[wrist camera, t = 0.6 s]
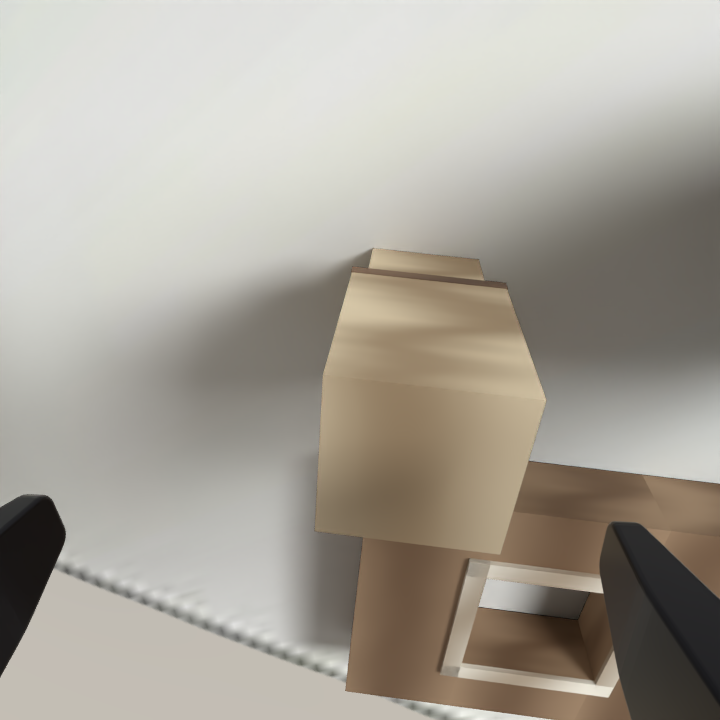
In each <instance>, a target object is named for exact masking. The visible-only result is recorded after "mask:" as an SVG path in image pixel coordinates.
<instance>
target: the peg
mask: <svg viewBox="0 0 720 720" xmlns="http://www.w3.org/2000/svg"><path fill="white" fill-rule="evenodd" d="M546 401H547V400H546V397H545V394H544V392H543V389H542V386H541V383H540V380H539V378H538V375H537V372H536V369H535V366H534V364H533V361H532V358H531V355H530V352H529V349H528V347H527V344H526V341H525V338H524V335H523V333H522V330H521V327H520V324H519V321H518V319H517V316H516V313H515V310H514V307H513V304H512V302H511V299H510V296H509V293H508V287H507V285H506V283H502V282H493V281H484V277H483V273H482V270H481V266H480V262H479V259H469V258H460V257H450V256H441V255H431V254H422V253H413V252H403V251H394V250H384V249H375V248H373V250H372V255H371V259H370V264H369V268H363V267H352V270H351V277H350V281H349V284H348V288H347V291H346V295H345V298H344V302H343V305H342V309H341V312H340V316H339V319H338V323H337V327H336V330H335V334H334V337H333V341H332V344H331V348H330V351H329V355H328V358H327V362H326V365H325V369H324V373H323V382H322V401H321V420H320V438H319V457H318V476H317V495H316V514H315V531H316V532H324V533H332V534H340V535H348V536H355V537H363V538H371V539H379V540H387V541H395V542H403V543H411V544H419V545H427V546H435V547H443V548H451V549H459V550H466V551H474V552H482V553H490V554H498V555H500V554H501V550H502V547H503V544H504V540H505V537H506V534H507V530H508V527H509V524H510V520H511V517H512V514H513V510H514V507H515V504H516V500H517V497H518V494H519V490H520V487H521V484H522V481H523V477H524V474H525V471H526V467H527V464H528V461H529V457H530V454H531V451H532V447H533V444H534V441H535V437H536V434H537V431H538V427H539V424H540V421H541V417H542V414H543V411H544V408H545V404H546Z"/></svg>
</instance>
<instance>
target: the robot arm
mask: <svg viewBox="0 0 720 720" xmlns="http://www.w3.org/2000/svg"><path fill="white" fill-rule="evenodd" d="M65 538H66V531H65V527H64V525H63V523H62V520H61V518H60V516H59V514H58V511H57V509H56V507H55V505H54V502H53V501H52V499H51V498H50V497H48V496H46V495H32V494H27V495H22V496H20V497H18V498H16V499H14V500H12V501H11V502H9V503H7V504H5V505H4V506H2V507H0V677H1V675H2V673H3V671H4V669H5V668H6V666H7V664H8V662H9V660H10V659H11V657H12V655H13V653H14V652H15V650H16V648H17V646H18V644H19V642H20V640H21V638H22V636H23V635H24V633H25V631H26V629H27V627H28V625H29V622H30V620H31V618H32V616H33V614H34V611H35V609H36V607H37V605H38V602H39V600H40V598H41V596H42V593H43V591H44V589H45V586H46V584H47V582H48V579H49V577H50V575H51V573H52V570H53V568H54V566H55V564H56V561H57V559H58V557H59V555H60V552H61V550H62V548H63V545H64V542H65ZM599 570H600V578H601V583H602V588H603V594H604V599H605V605H606V610H607V616H608V621H609V627H610V632H611V637H612V643H613V648H614V654H615V659H616V664H617V669H618V674H619V679H620V682H621V686H622V690H623V693H624V697H625V700H626V704H627V707H628V710H629V714H630V717H631V720H720V599H719V598H718V597H717V596H716V595H715V594H714V593H713V592H712V591H711V590H710V589H709V588H708V587H707V586H706V585H705V584H704V583H703V582H702V581H701V580H699V579H698V578H697V577H696V576H695V575H694V574H693V573H692V572H691V571H690V570H689V569H688V568H687V567H686V566H685V565H684V564H683V563H682V562H681V561H680V560H678V559H677V558H676V557H675V556H674V555H673V554H672V553H671V552H670V551H669V550H668V549H667V548H666V547H665V546H664V545H663V544H662V543H661V542H660V541H659V540H657V539H656V538H655V537H654V536H653V535H652V534H651V533H650V532H649V531H648V530H647V529H646V528H645V527H644V526H643V525H641V524H639V523H637V522H623V521H613V522H610V523H609V525H608V526H607V529H606V534H605V538H604V542H603V546H602V551H601V555H600V561H599Z"/></svg>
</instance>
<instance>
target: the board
mask: <svg viewBox="0 0 720 720" xmlns="http://www.w3.org/2000/svg"><path fill="white" fill-rule="evenodd" d="M613 521H623V522H637V523H639V524H641V525H643V526H644V527H645V528H646V529H647V530H648V531H649V532H650V533H651V534H652V535H653V536H654V537H655V538H656V539H657V540H659V541H660V542H661V543H662V544H663V545H664V546H665V547H666V548H667V549H668V550H669V551H670V552H671V553H672V554H673V555H674V556H675V557H676V558H677V559H678V560H680V561H681V562H682V563H683V564H684V565H685V566H686V567H687V568H688V569H689V570H690V571H691V572H692V573H693V574H694V575H695V576H696V577H697V578H698V579H699V580H701V581H702V582H703V583H704V584H705V585H706V586H707V587H708V588H709V589H710V590H711V591H712V592H713V593H714V594H715V595H716V596H717V597H718V598H719V599H720V484H714V483H706V482H698V481H689V480H681V479H673V478H664V477H656V476H648V475H639V474H631V473H622V472H614V471H606V470H597V469H589V468H581V467H572V466H564V465H556V464H547V463H539V462H530V461H528V464H527V467H526V471H525V474H524V477H523V481H522V484H521V487H520V490H519V494H518V497H517V500H516V504H515V507H514V510H513V514H512V517H511V520H510V524H509V527H508V530H507V534H506V537H505V540H504V544H503V547H502V550H501V554H500V555H498V554H490V553H482V552H474V551H466V550H459V549H451V548H443V547H435V546H427V545H419V544H411V543H403V542H395V541H387V540H379V539H371V538H363V541H362V550H361V558H360V567H359V576H358V584H357V593H356V601H355V610H354V618H353V627H352V636H351V645H350V654H349V663H348V672H347V681H346V690H345V691H348V692H356V693H363V694H370V695H378V696H385V697H392V698H400V699H407V700H414V701H421V702H429V703H436V704H443V705H451V706H458V707H465V708H473V709H480V710H487V711H494V712H502V713H509V714H516V715H524V716H531V717H538V718H546V719H553V720H631V717H630V714H629V710H628V707H627V704H626V700H625V697H624V693H623V690H622V686H621V682H620V679H619V674H618V669H617V664H616V659H615V654H614V648H613V643H612V637H611V632H610V627H609V621H608V616H607V610H606V605H605V599H604V594H603V588H602V583H601V578H600V570H599V561H600V555H601V551H602V546H603V542H604V538H605V534H606V529H607V526H608V525H609V523H610V522H613ZM486 579H494V580H502V581H509V582H517V583H525V584H533V585H541V586H549V587H556V588H564V589H572V590H580V591H588V592H590V594H589V596H588V598H587V601H586V603H585V605H584V607H583V610H582V612H581V614H580V616H579V619H578V620H572V619H565V618H557V617H549V616H541V615H534V614H526V613H518V612H511V611H503V610H495V609H488V608H480V607H478V606H479V603H480V599H481V596H482V592H483V589H484V585H485V582H486Z"/></svg>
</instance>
